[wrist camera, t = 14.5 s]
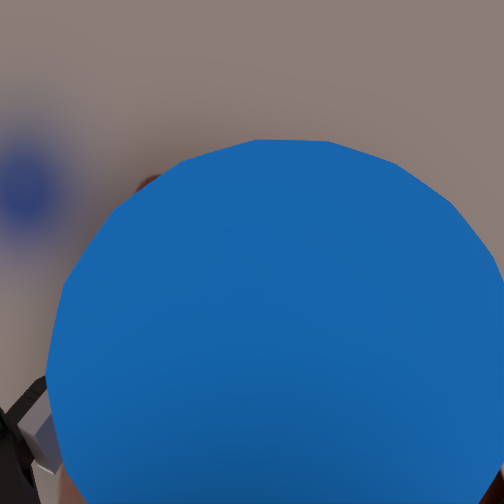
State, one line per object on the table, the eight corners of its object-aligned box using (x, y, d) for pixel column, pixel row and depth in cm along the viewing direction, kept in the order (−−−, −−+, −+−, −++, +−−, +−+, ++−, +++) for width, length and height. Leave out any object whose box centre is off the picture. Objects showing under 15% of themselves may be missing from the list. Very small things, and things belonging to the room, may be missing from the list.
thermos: (173, 425, 26) (-2, 506, 3) (206, 321, 30) (161, 100, 8) (288, 455, 25) (469, 580, 3) (314, 350, 30) (514, 212, 7)
